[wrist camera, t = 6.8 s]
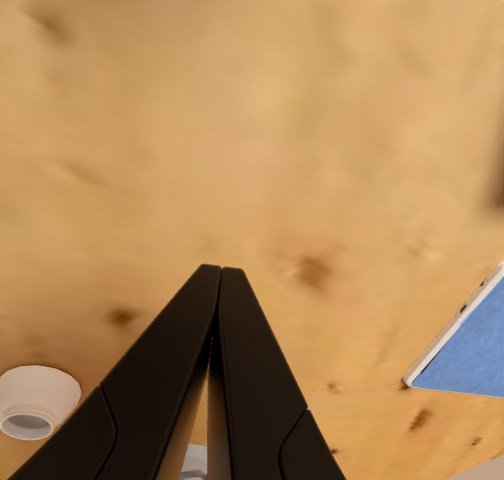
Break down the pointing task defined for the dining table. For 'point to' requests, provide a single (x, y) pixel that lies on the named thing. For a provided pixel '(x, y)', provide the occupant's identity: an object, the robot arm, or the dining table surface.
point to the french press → (195, 463)
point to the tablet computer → (468, 346)
